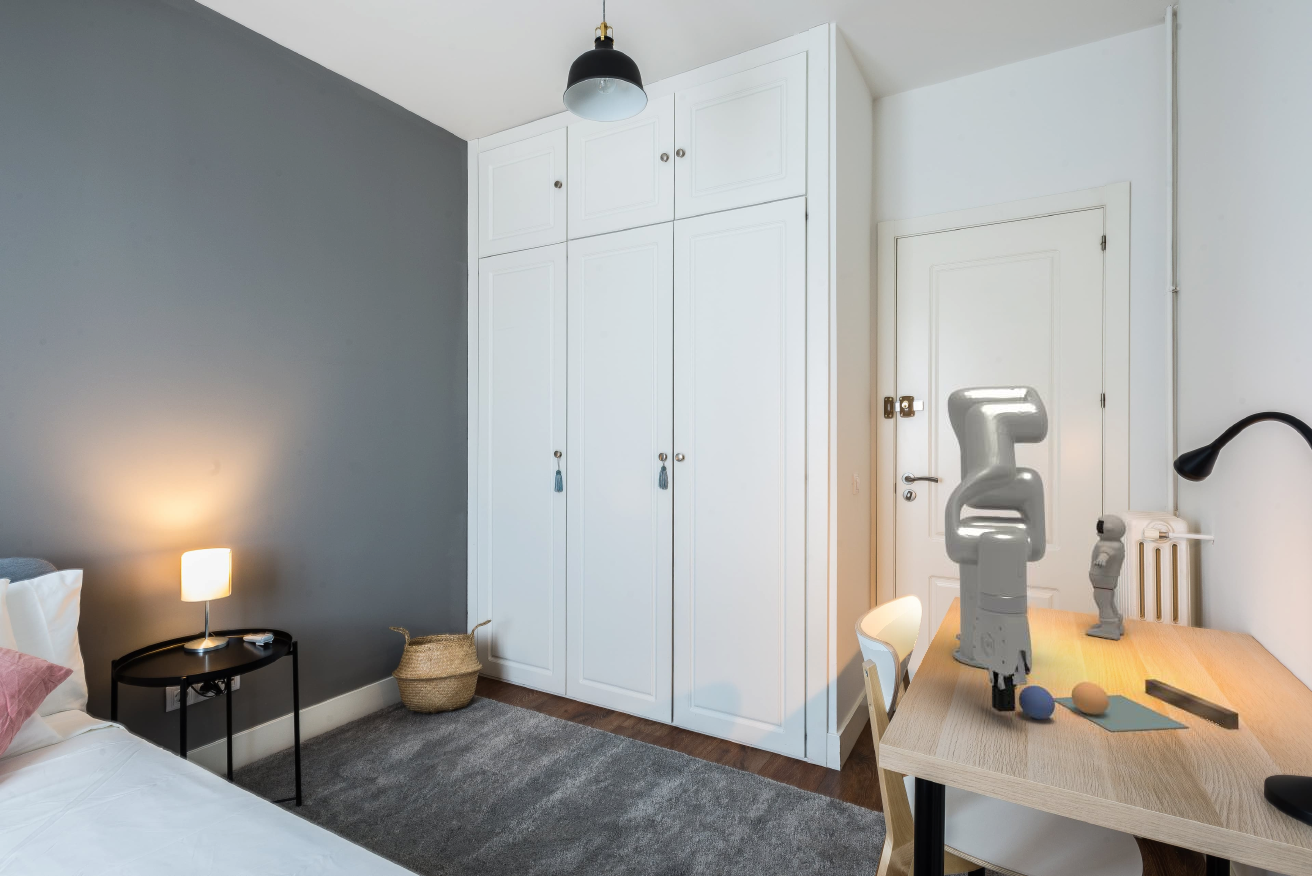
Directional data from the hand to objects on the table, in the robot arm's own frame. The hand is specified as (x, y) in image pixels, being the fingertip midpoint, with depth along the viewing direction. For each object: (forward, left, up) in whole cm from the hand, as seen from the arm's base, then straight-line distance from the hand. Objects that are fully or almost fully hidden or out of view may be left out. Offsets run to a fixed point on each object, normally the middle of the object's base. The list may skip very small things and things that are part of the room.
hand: (1003, 709), depth 112 cm
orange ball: (0, +16, +1) cm, 16 cm away
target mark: (0, +21, -2) cm, 21 cm away
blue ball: (+1, +6, +1) cm, 6 cm away
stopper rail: (0, +35, -2) cm, 35 cm away
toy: (-44, +57, -2) cm, 72 cm away
